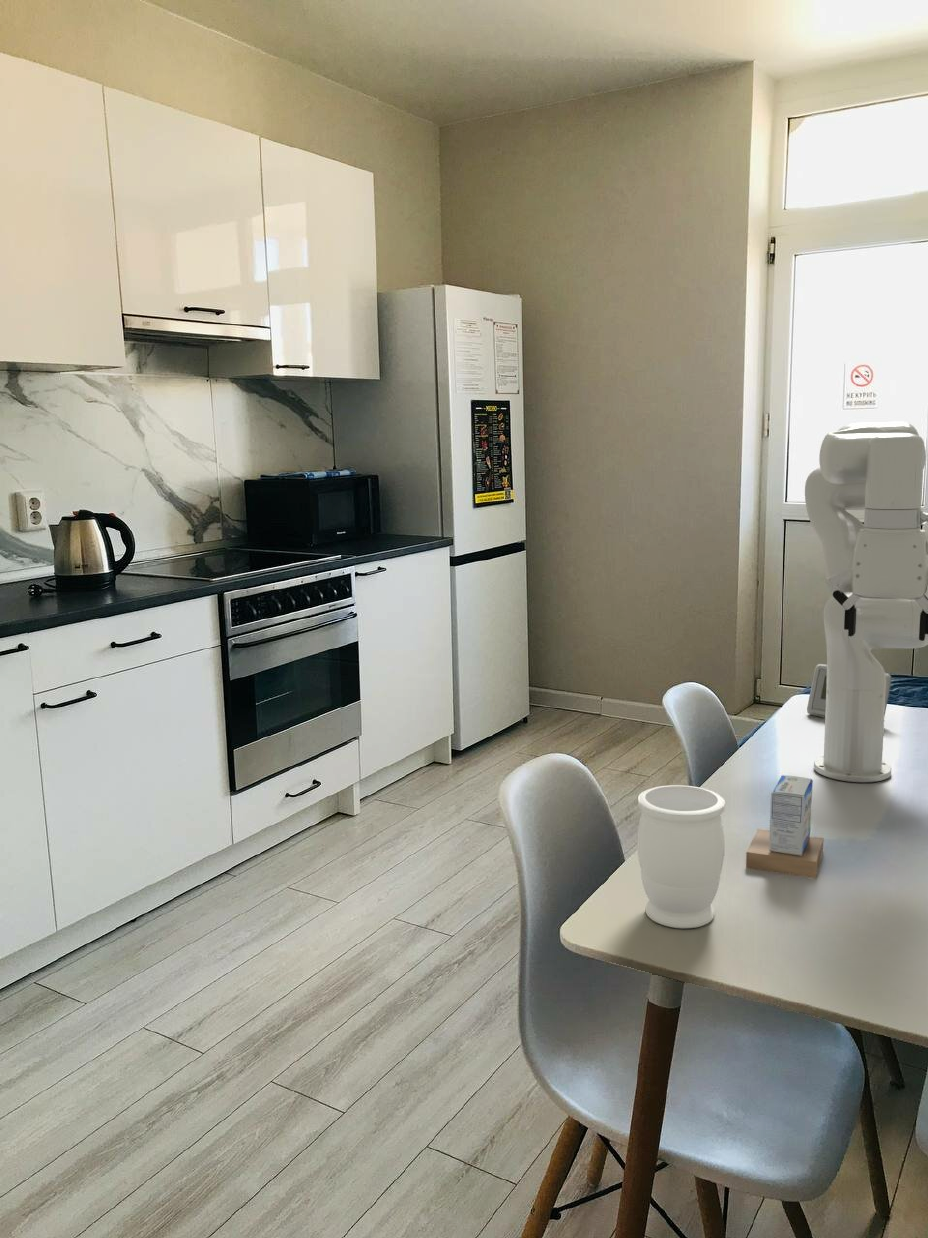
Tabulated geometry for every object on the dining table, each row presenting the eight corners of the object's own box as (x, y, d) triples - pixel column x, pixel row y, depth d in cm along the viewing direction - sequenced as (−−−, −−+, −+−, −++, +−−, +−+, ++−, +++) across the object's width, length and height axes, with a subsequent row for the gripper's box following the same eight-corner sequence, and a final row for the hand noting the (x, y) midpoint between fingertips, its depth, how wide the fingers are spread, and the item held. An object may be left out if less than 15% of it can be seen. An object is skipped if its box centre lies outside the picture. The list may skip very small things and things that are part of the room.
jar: (706, 942, 117) (708, 819, 115) (623, 922, 123) (624, 804, 120) (734, 906, 126) (736, 792, 124) (655, 889, 132) (657, 778, 129)
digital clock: (801, 715, 213) (803, 665, 211) (829, 708, 217) (831, 659, 216) (870, 732, 199) (872, 679, 197) (897, 724, 204) (900, 673, 202)
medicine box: (802, 857, 135) (805, 796, 133) (767, 851, 137) (771, 791, 135) (810, 837, 142) (813, 778, 140) (777, 831, 144) (780, 773, 142)
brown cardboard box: (757, 848, 146) (757, 829, 145) (822, 858, 142) (823, 838, 141) (745, 872, 138) (746, 852, 137) (815, 883, 134) (816, 862, 133)
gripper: (959, 519, 145) (952, 636, 148) (832, 518, 153) (828, 629, 156) (957, 523, 139) (950, 645, 142) (825, 522, 146) (821, 637, 149)
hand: (886, 637), depth 149 cm, fingers open, 9 cm apart
